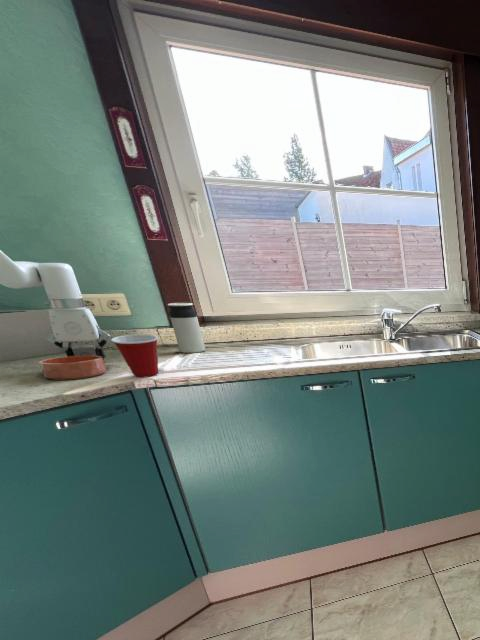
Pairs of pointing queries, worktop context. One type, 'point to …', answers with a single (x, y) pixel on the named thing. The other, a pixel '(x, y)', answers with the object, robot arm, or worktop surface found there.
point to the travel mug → (186, 328)
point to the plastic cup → (139, 353)
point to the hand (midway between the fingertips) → (88, 360)
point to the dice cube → (84, 350)
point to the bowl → (72, 367)
